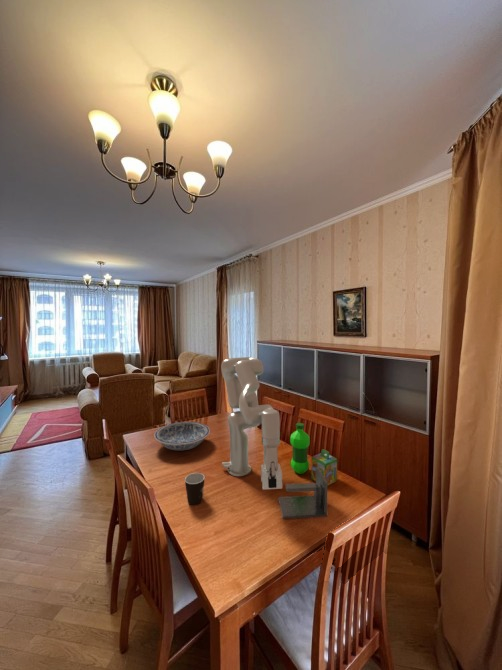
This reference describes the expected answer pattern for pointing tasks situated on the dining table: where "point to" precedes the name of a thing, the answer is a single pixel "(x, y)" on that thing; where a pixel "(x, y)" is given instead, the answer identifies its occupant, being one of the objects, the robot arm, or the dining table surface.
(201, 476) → the dark grey cup
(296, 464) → the plastic bottle
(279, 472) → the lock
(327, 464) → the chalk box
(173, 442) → the ceramic bowl
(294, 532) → the dining table surface
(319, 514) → the bracket
